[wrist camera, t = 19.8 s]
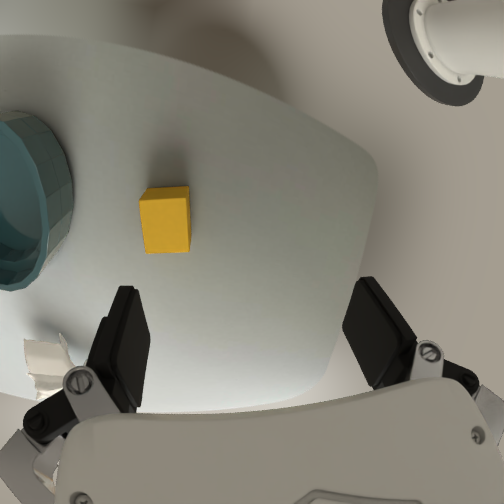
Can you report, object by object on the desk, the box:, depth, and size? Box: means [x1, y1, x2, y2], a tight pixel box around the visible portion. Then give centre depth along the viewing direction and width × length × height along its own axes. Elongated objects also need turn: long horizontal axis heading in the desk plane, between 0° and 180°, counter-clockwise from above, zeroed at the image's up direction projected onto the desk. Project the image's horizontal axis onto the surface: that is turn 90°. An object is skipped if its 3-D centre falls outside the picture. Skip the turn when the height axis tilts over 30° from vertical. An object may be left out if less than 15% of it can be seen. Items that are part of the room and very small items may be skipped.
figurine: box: [24, 333, 87, 400], centre depth 31 cm, size 15×12×14 cm
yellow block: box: [139, 186, 191, 254], centre depth 24 cm, size 4×5×4 cm
